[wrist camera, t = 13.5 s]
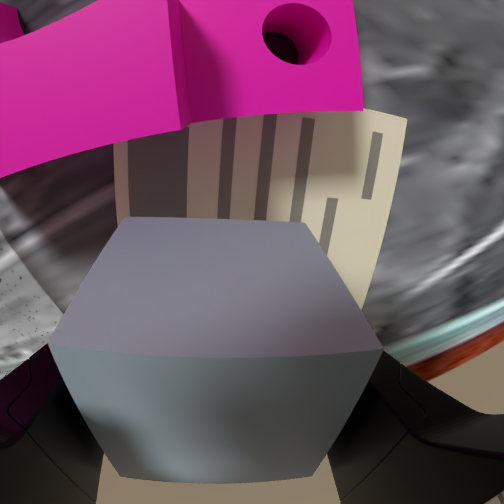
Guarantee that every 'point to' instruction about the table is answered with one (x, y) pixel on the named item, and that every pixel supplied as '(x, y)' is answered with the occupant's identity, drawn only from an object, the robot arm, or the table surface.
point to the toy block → (166, 70)
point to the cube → (214, 350)
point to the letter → (275, 178)
